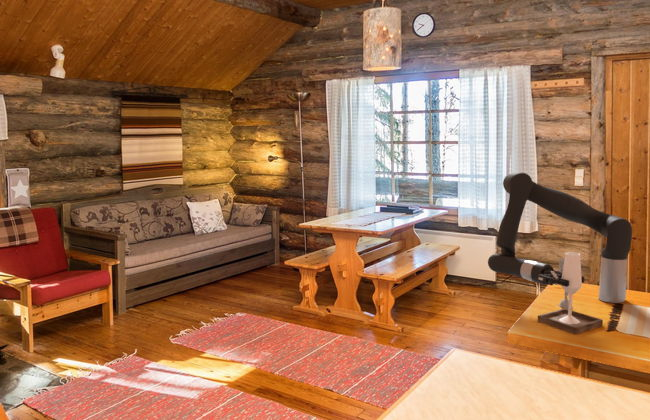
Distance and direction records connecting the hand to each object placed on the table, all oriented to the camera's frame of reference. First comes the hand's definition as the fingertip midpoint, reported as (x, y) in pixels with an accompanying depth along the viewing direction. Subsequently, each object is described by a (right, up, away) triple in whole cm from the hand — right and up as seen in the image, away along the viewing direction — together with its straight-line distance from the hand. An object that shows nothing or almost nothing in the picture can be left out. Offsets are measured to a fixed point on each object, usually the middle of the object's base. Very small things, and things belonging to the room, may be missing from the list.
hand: (576, 281), depth 196 cm
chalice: (+6, -12, +23) cm, 27 cm away
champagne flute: (-1, -14, +4) cm, 15 cm away
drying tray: (-1, -15, +4) cm, 16 cm away
